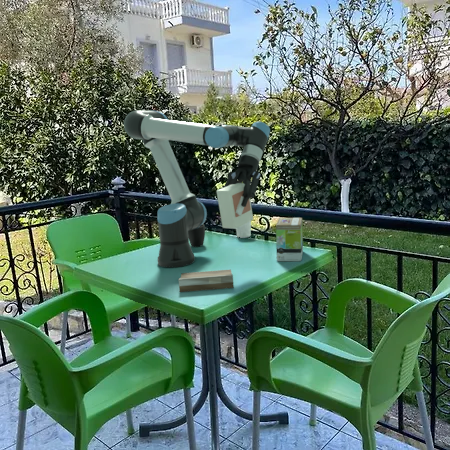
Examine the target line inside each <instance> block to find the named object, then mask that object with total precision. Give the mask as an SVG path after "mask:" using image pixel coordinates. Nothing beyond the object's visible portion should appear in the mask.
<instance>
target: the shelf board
mask: <svg viewBox="0 0 450 450" xmlns="http://www.w3.org/2000/svg"><path fill="white" fill-rule="evenodd" d="M178 286H179V287H178V288H179V289H178V290H179V292H180V293H185V292H196V291H197V292H198V291H209V290H210V291H211V290H223V289H234V275H233V273H232V269H220V270H219V269H218V270H207V271H206V270H205V271H196V272H183V273H181V275H180V278H178Z"/></svg>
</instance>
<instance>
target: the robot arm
mask: <svg viewBox="0 0 450 450" xmlns="http://www.w3.org/2000/svg"><path fill="white" fill-rule="evenodd" d="M123 129H124V131H125V133H126V134H127V135H128V136H129V137H130V138H132V139H134V140H141V141H142V142H143V145H144V147H145V148H146V149H149V150H150V152H151V155H152V158H153V159H154V162H155V164H156V166H157V169H158V171H159V174H160V176H161V178H162V181H163V183H164V185H165V187H166V190H167V192H168V195H169V197H170V199H171V201H170V202H171V203H170V204H166V205H163V206H161V207H159V208H158V210H157V213H156V214H157V228H158V236H159V242H160V244H159V246H160V247H159V252H158V256H157V265H158V266H159V267H162V268H180V267H185V266H186V267H187V266H189V265H192V264H193V263H194V262H195V261H196V260H195V259H196V257H195V253H194V252H193V249H192V246H191V244H190V241H189V238H188V232H189V231H191V230H194V229H196V228H198V227H200V226H201V225H202V224H203V225H204V223H205V222H206V219H207V216H208V214H207V213H208V212H207V209H206V206H205V204H204V203H202V202H201V201H199V200H198V198H197V196H196V195H195V194H194V193H192V192H190V189H189V187H188V184H187V182H186V179H185V177H184V174H183V172H182V170H181V168H180V164H179V163H178V161H177V158H176V156H175V154H174V151H173V149H172V147H171V144H170V142H169V141H175V142H181V143H189V144H196V145H203V146H209V147H210V148H213V149H220V148H224V147H225V148H226V147H231V146H235V147H243V150H242V152H241V154H240V157H239V160H238V162H237V169H236V170H235V171H234V172H231V171H230V172H228V178H227V180H226V181H225V184H224V186H223V188H224V187H227V186H229V185H232V184H236V183H244V184H245V186H244V193H243V194H242V195H243V196H244V197H243V196H241V198H240V201H239V204H238V206H237V209H236V213H237V214H238V215H239V216H241V215H242V212H243V209H244V207H245V206H246V204H247V202H248V199H249V198H250V199H254V198H255V195H256V191H257V188H258V184H259V180H260V179H261V177H262V174H261V173H260V172H259V171H258V169H259V166H260V162H261V159H262V156H263V154H264V150H265V148H266V145H267V142H268V141H269V136H270V133H271V128H270V127H269V125H268V124H267V123H265V122H263V121H255V122H253V123H252V124H251V126H249V127H248V126H247V127H246V126H245V127H244V126H239V125H232V124H223V125H220V126H219V125H213V124H211V125H210V124H203V123H196V122H188V121H187V122H186V121H180V120H171V119H168V117H167V115H165V114H164V113H163V112H161V111H158V110H154V109H150V110H133V111H131V112H128V113H127V115H126V116H125V118H124V120H123Z"/></svg>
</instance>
